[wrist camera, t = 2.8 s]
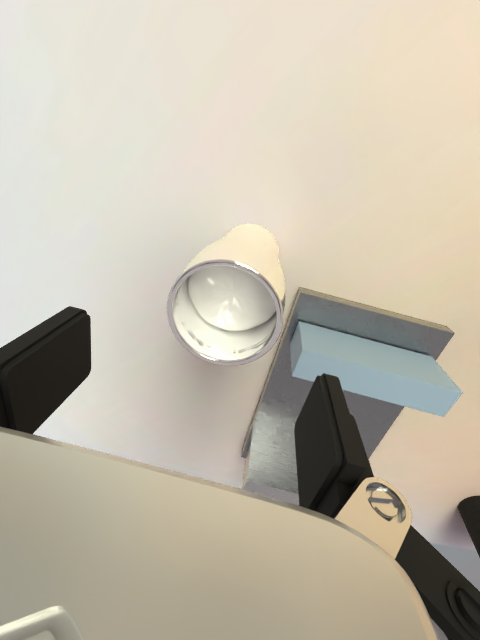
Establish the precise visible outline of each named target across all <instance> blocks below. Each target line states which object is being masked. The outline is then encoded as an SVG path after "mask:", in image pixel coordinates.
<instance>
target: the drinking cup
mask: <svg viewBox="0 0 480 640" xmlns="http://www.w3.org/2000/svg"><path fill="white" fill-rule="evenodd" d="M458 510H459V512H460V514H461V516H462V519H463V521H464V523H465V525H466V528H467V530H468V532H469V534H470V537H471V539H472V541H473V543H474V546H475V548H476V550H477V552H478V555H479V557H480V496H474V497H469V498H467V499H464V500H463V501H461V502H460V504H459V506H458Z"/></svg>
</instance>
